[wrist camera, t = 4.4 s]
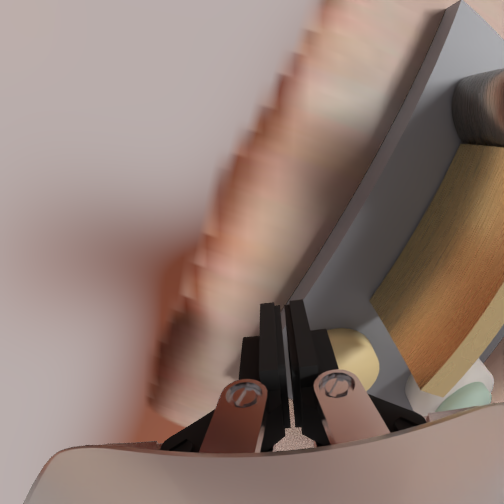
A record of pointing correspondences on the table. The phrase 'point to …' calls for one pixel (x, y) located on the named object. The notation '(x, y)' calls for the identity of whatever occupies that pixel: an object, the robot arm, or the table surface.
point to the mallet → (454, 251)
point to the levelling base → (399, 225)
